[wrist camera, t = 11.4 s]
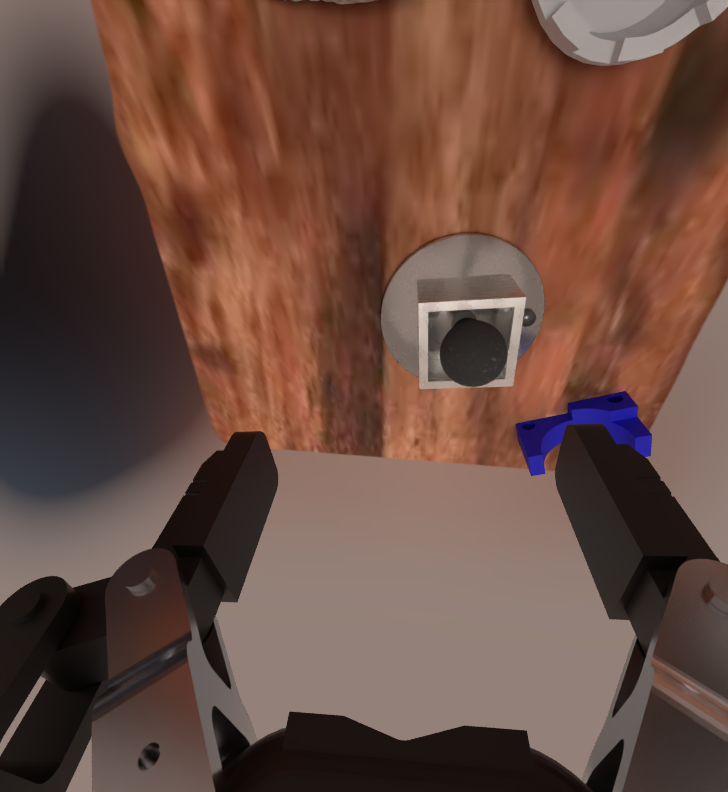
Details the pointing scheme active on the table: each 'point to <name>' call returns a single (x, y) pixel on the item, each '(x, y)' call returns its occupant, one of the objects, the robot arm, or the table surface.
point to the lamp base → (460, 302)
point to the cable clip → (606, 410)
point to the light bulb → (472, 351)
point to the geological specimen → (343, 1)
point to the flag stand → (621, 26)
